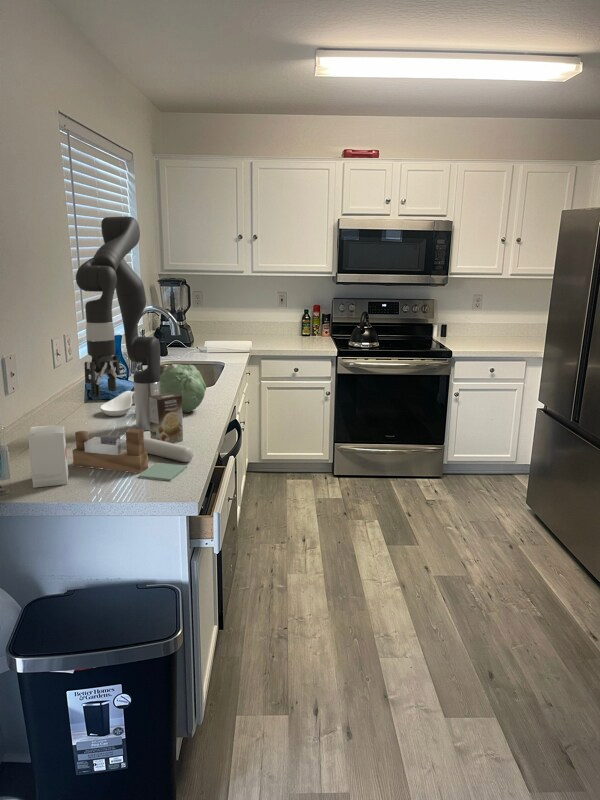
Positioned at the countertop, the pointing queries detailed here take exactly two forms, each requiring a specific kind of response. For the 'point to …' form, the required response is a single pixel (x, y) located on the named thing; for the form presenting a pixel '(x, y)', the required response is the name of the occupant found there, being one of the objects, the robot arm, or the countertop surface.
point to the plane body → (127, 461)
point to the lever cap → (106, 445)
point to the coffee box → (166, 417)
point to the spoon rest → (119, 404)
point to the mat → (162, 471)
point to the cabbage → (183, 384)
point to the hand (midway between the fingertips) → (104, 393)
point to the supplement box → (48, 455)
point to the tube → (167, 450)
